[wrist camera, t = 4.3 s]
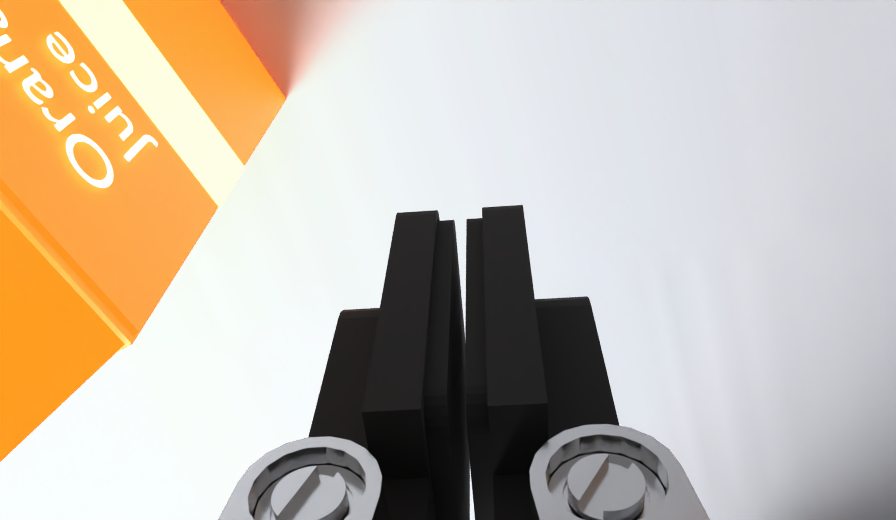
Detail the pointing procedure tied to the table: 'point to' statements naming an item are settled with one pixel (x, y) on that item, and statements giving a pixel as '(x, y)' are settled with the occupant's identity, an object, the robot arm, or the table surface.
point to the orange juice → (108, 175)
